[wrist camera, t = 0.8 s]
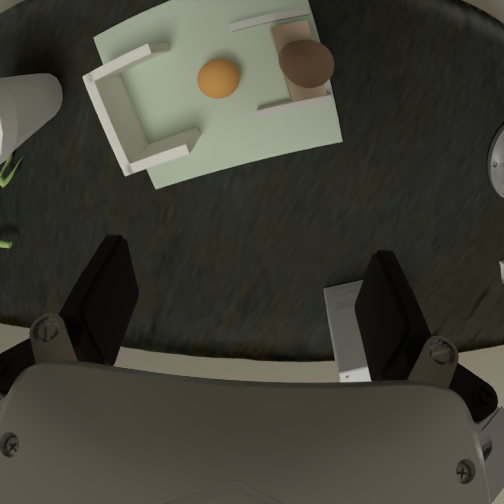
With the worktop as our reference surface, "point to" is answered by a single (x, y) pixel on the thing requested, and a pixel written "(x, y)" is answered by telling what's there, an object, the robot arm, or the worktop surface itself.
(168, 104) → the pitch
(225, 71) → the ball
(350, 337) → the supplement box
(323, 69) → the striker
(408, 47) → the worktop surface
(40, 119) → the foam cup
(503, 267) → the skyscraper
